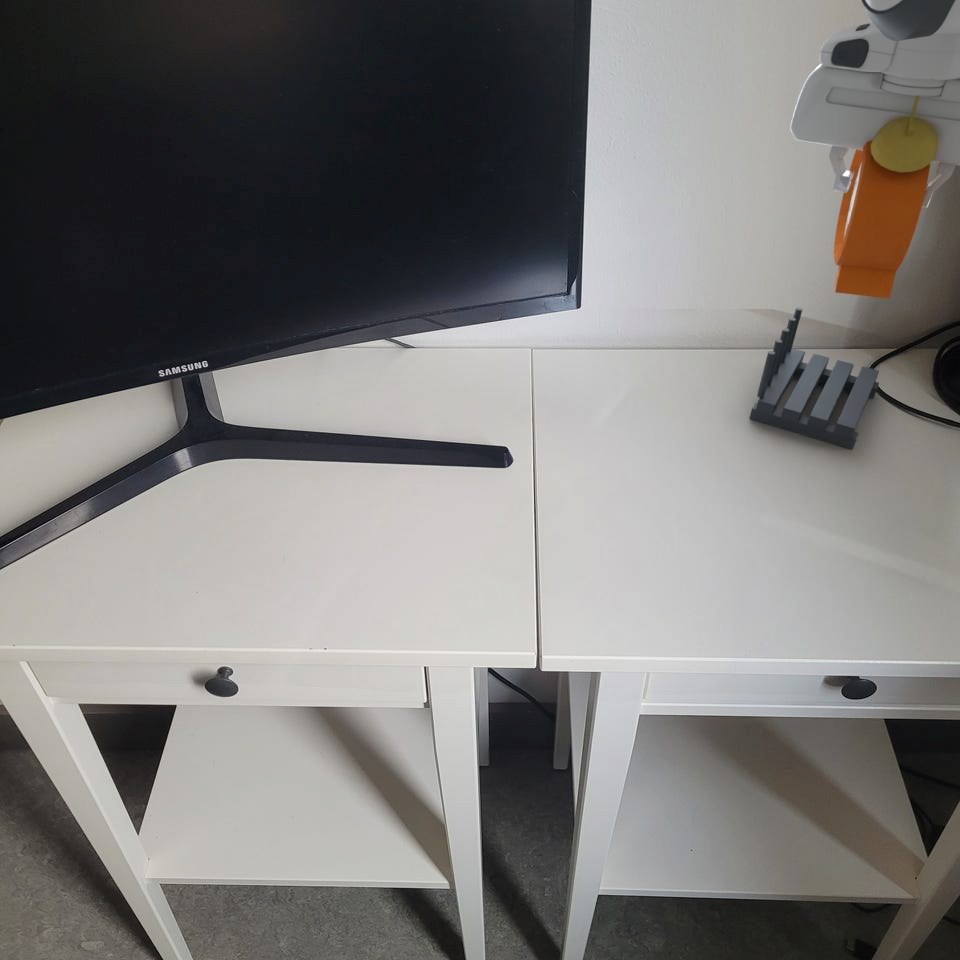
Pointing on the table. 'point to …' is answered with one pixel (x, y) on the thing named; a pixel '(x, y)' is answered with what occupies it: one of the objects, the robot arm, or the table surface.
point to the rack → (811, 392)
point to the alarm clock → (883, 206)
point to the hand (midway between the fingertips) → (879, 197)
